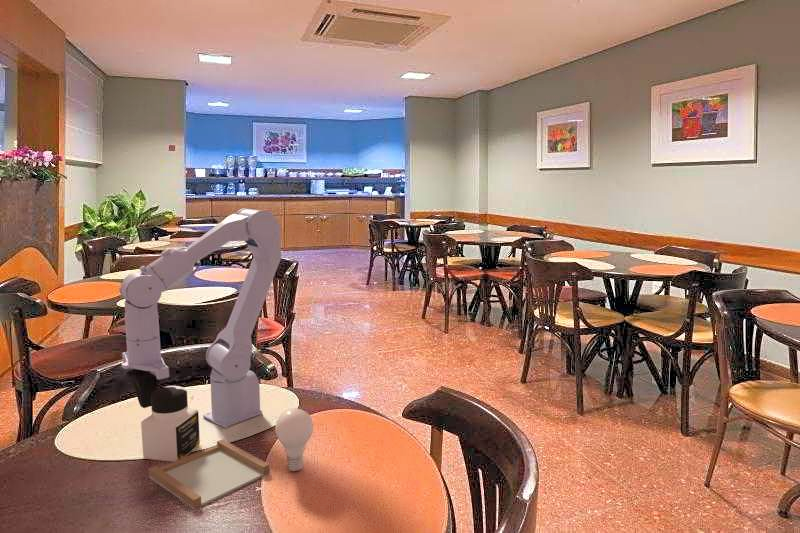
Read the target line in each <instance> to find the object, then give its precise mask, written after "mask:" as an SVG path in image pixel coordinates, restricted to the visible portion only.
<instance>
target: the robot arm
mask: <svg viewBox="0 0 800 533" xmlns="http://www.w3.org/2000/svg"><path fill="white" fill-rule="evenodd" d="M282 229H283V228H282V226H281V225H280V223H279V221H278V219H277V217H276V216H275V215H274V214H273V212H270V211H269V210H262V209H261V210H258V209H252V208H250V207H244V208H241V209H239V210H237V211H236V212H235V213H232V214H230V215H228V216H227V217H225V219H223V220H222V221H221V222H219V223H217V225H215V226H214V227H212V228H211V229H210V230H208V231H206V232H205V233H204V234H203V235H202V236H200V237H198V238H197V239H195V240H194V241H193V242H191V243H190V244H189V245H188V246H186V247H184V248H183V249H181V248H176V247H174V248H172V249H171V250H170V249H167V248H166V249H165V250H163V251H162V252H161V256H159V258H157V259H155V260H154V261H153V262H151V263H149V264H148V265H146V266H145V265H141V266H140V267H139V271H140V272H133V273H130V274H128V275H126V277H124V278H123V279H122V282H121V284H120V287H119V289H118V290H119V293H120V295H121V297H122V298H123V299H124V300H125V301H124V311H125V312H124V325H125V326H124V328H125V340H126V342H125V343H126V351H125V352H121V355H122V363H121V364H120V365H121V368H122V369H124V370H127V371H126V372H125V375H126V377H127V378H128V379H129V381H130V383H131V384H132V386H133V389H134V391H135V394H136V397H137V400H138V403H139V406H140V407H141V408H142V409H145V408H150V407H151V394H152V393H153V392H154V391H155V390H157V389H159V386H160V384H161V381H162V380H164V379H167V378H170V369H169V366H167V365H166V363H165V361H164V358H163V357H162V354H161V337H160V336H161V335H160V334H161V333H160V322H159V320H160V319H159V312H158V311H159V310H158V302H159V301H160V299H161V297H162V293H164V292H166V291H167V290H170V289H171V288H172V287H173V286H175V285H176V284H178V283H179V282H180V281H182V280H183V279H185V278H187V277H188V276H189V275H190V274H192V273H193V272H194V267H195V264H196V263H197V262H198V261H200V260H202V259H203V258H205V257H207V256H209V255H210V254H212V253H213V252H215V251H216V250H218V249H220V248H222V247H223V246H224V245H226V244H228V243H229V242H245V244H246V245H247V247H248V249H249V251H250V252H251V254H252V260H251V262H250V264H249V265H250V266H249V268H248V270H247V273H246V275H245V278H244V280H243V284H242V286H241V289H240V291H239V294H238V297H237V299H236V300H235V304H234V306H233V309H232V312H231V314H230V316H229V319H228V321H227V324H226V326H225V327H224V328H223V329H222V330H221V331H219V333H218V335H217V336H216V339H215V340H214V341H213V343H211V344H210V345H209V347H208V348H207V350H206V353H205V360H206V362H207V364H208V365H209V366H210V367H211V372H210V374H209V376H210V378H209V379H210V381H209V382H210V400H211V401H210V402H211V404H210V405H211V411H210V412H207V413H205V414H203V415H202V416H203V417H202V418H205V419H207V420H209V421H210V422H212V423H214V424H216V425H218V426H220V427H222V428H228V427H231V426H232V425H235V424H237V423H241V422H243V421H246V420H248V419H252V418H254V417H257V416H259V415H262V414H263V410H261V396H260V394H261V392H260V388H261V387H260V381H259V379H258V376H257V374H256V373H255V372H254V371H252V370H251V369H250V368H251V365H252V364H251V362H252V361H251V355H252V352H253V348H254V347H253V342H252V335H253V332H254V328H255V326H256V324H257V321H258V318H259V315H260V313H261V311H262V308H263V306H264V303H265V300H266V297H267V295H268V293H269V291H270V287H271V285H272V282H273V279H274V277H275V274H276V272H277V270H278V266H279V264H280V262H281V259H282V247H281V236H280V234H281V231H282ZM129 369H131V370H129Z"/></svg>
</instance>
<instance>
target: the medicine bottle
mask: <svg viewBox="0 0 800 533" xmlns="http://www.w3.org/2000/svg"><path fill="white" fill-rule="evenodd" d="M187 390H188V389H186V388H185V387H183V386H178V385H166V386H163V387H158V389H157V390H155V391H154V392H153V393H152V394H151V406H150V407H151V414H150V415H149V416H147V417H146V418H145V419H143V420H142V421H141V422H140V426H141V427H140V429H141V442H142V457H143V459H147V460H153V461H163V462H170V463H172V462H175V461H177V460H180V459H182V458H185V457H187V456H189V454H191V452H193V451H194V450H196V448H197V447H198V446H200V445H201V444H200V442H201V440H200V422H199V421H200V419H199V417H200V416H199V410H198V409H195V408H189V406H188V391H187Z"/></svg>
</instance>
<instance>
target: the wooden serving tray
mask: <svg viewBox="0 0 800 533" xmlns="http://www.w3.org/2000/svg"><path fill="white" fill-rule="evenodd" d="M270 471H271V470H270V464H269V463H268V462H265V461H264V460H262V459H260V458H258V457H256V456H254V455H253V454H251V453H249V452H247V451H245V450H243V449H242V448H240V447H237V446H236V445H235V444H232V443H230V442H228V441H227V440H225V439H220V440H217V441H216V445H213V446H212V445H211V446H210V447H208V448H205V449H203V450H200V451H197V452H195V453H193V454H190V455H187V456H186V457H184V458H182V459H180V460H177V461H175V462H170V463H167V464H166V465H162V466H161V467H159V466H157V465H155V466H152V467H150V468H148V478H149V479H151V480H152V481H154V482H155V483H156V484H158V485H159V486H161V487H162V488H164V490H166V491H167V492H169V493H171V495H173V496H175V498H177V499H178V500H180V501H181V502H183V503H184V504H186V505H187V506H188V507H190V508H191V509H193V510H197V509H199V508H200V507H202V506H205V505H207V504H209V503H211V502H214V501H215V500H218V499H219V498H221V497H223V496H225V495H228V494H230V493H232V492H234V491H237V490H239V489H240V488H242V487H244V486H247V485H248V484H250V483H253V482H254V481H257V480H259V479H260V478H263V477H265V476H267V475H268V474H270V473H271V472H270Z"/></svg>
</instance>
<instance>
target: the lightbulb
mask: <svg viewBox="0 0 800 533" xmlns="http://www.w3.org/2000/svg"><path fill="white" fill-rule="evenodd" d="M313 422H314V421H313V420H312V417H311V415H310V414H309V413H308V412H307V411H305V410H303V409H300V408H296V407H295V408H288V409H287V410H285V411H283V412H282V413H280V415H279V416H278V418H277V420H276V423H275V425H274V429H275V431H274V432H275V436H276V437H277V439H278V441H279V443H280V444H281V445H282V446H283V448H284V449H283V450H284V453H285V454H286V463H287V464H286V465H287V466H286V468H287V470H288V471H290V472H291V471H292V472H298V471H300V470H302V469H303V467H304V463H303V462H304V461H303V458H304V456H303V455H304V453H305V449H306V448H305V447H306V445H307V443H308V442H309V440H310V438H311V437H312V435H313V432H314V423H313Z"/></svg>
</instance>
